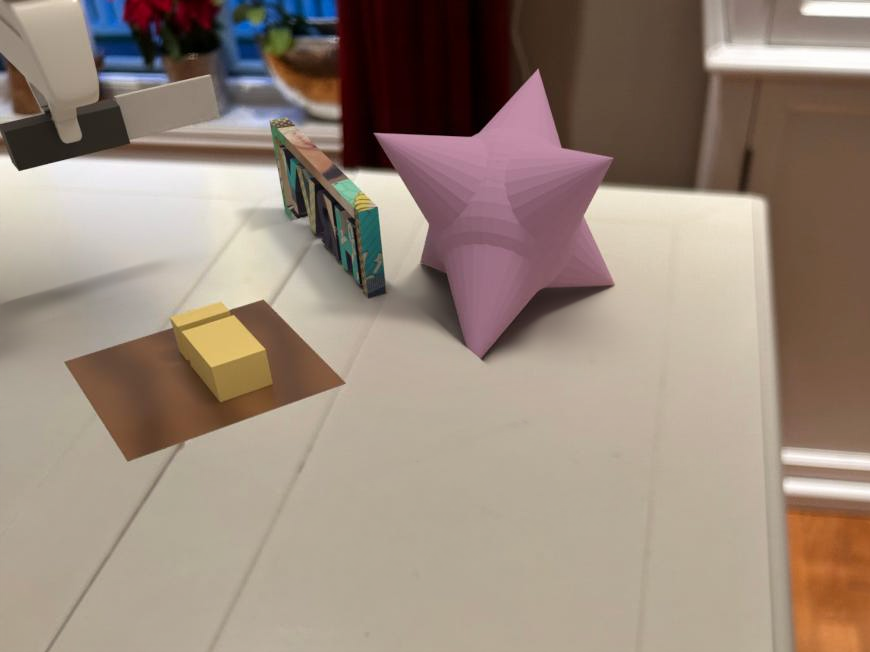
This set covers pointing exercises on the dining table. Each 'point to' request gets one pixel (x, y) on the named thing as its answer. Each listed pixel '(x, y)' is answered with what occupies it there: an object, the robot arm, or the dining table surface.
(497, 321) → the decorative object
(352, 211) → the decorative block
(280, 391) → the cutting board
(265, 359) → the butter block
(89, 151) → the knife
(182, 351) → the butter slice
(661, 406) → the dining table surface
